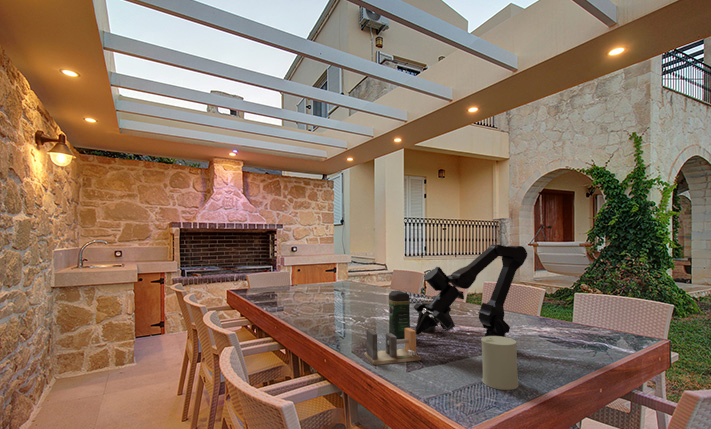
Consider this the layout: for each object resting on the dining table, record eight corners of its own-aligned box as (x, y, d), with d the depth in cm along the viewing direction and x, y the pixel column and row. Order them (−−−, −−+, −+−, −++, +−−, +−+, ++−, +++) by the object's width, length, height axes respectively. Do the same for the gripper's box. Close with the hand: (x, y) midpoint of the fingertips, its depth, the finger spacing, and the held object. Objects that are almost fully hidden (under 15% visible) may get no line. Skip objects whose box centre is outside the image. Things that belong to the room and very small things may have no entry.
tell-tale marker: (410, 354, 117) (409, 349, 117) (412, 355, 115) (412, 351, 115) (407, 354, 117) (407, 350, 117) (410, 356, 115) (409, 351, 115)
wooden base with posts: (408, 351, 126) (408, 325, 126) (420, 360, 116) (420, 332, 117) (364, 355, 121) (364, 328, 122) (373, 364, 112) (372, 335, 112)
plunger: (410, 349, 123) (409, 327, 124) (419, 356, 116) (419, 332, 116) (385, 351, 121) (385, 329, 121) (393, 358, 114) (393, 334, 114)
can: (476, 377, 101) (475, 334, 102) (507, 376, 102) (505, 333, 103) (491, 390, 92) (490, 343, 93) (525, 389, 93) (523, 342, 93)
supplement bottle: (436, 333, 150) (435, 304, 151) (419, 332, 152) (419, 304, 153) (435, 329, 157) (435, 301, 158) (420, 328, 158) (419, 301, 159)
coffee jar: (413, 339, 141) (412, 292, 143) (394, 340, 139) (393, 292, 141) (404, 333, 151) (403, 289, 152) (386, 334, 149) (386, 289, 150)
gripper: (474, 321, 117) (444, 357, 114) (445, 310, 135) (419, 342, 131) (452, 297, 116) (422, 334, 112) (426, 290, 134) (399, 321, 130)
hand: (416, 333), depth 122 cm, fingers closed
